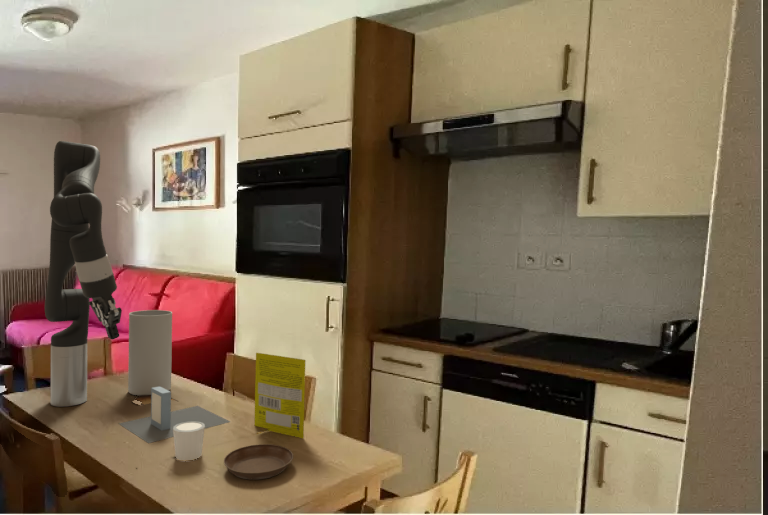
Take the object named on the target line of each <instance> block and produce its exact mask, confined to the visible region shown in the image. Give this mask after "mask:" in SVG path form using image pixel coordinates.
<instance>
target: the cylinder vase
mask: <svg viewBox="0 0 768 515" xmlns="http://www.w3.org/2000/svg"><path fill="white" fill-rule="evenodd" d="M172 341H173V311H170V310H164V309H162V310H161V309H145V310H136V311H131V312H129V313H128V367H127V368H128V371H127V372H128V373H127V375H128V378H127V382H128V383H127V387H128V388H127V390H128V391H127V392H128V393H129V394H130V395H133V396H136V395H137V396H136V397H138V396H141V395H151V388H154V387H159V386H160V387H162V388H164V389H166V390H168V391H170V390H171V388H172V355H173V354H172V348H173V346H172V344H173V343H172Z"/></svg>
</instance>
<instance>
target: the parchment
mask: <svg viewBox="0 0 768 515" xmlns="http://www.w3.org/2000/svg"><path fill="white" fill-rule="evenodd" d="M136 397H137V398H136ZM136 397H135V398H136V399H135V398H134V399H135V400H137V401H140V402H142V403H141V404H144V406H145V405H149V404H150V405H151V395H141V396H139V397H138V396H136ZM171 401H176V402H178V400H177V399H176V398H173V397H171Z"/></svg>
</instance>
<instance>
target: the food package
mask: <svg viewBox="0 0 768 515" xmlns="http://www.w3.org/2000/svg"><path fill="white" fill-rule="evenodd" d="M254 382H255V384H254V387H255V388H254V423H253V424H254V427H259V428H263V429H265V431H268V432H271V431H272V433H276V434H280V433H281V435H285V436H291V437H294V436H295V438H298V437H299V438H298V439H304V431H305V430H304V428H305V396H306V395H305V391H306V390H305V388H306V384H305V383H306V359H302V358H296V357H288V356H281V355H275V354H268V353H261V352H256V353H255V381H254Z"/></svg>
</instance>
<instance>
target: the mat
mask: <svg viewBox="0 0 768 515" xmlns="http://www.w3.org/2000/svg"><path fill="white" fill-rule="evenodd" d="M191 421H195V422H201V423H204V424H205V428H204V430H205V429H209V428H212V427H215V426H221V425H224V424H227V423H231V420H228V419H226V418H223V417H222V416H220V415H217V413H216V414H215V413H214V412H212V411H210V410H207V409H206V408H204V407H201V406H199V405H195V406H191V407H187V408H186V407H185V408H182V409H177V410H173V411H171V425H170V429H166V430H160V429H159V428H157V427H155V426H154V425H152V424H151V415H150V416H145V417H142V418H137V419H133V420H128V421H124V422H118V425H120V426H121V427H123V428H124V429H126V430H127V431H129V432H130V433H132V434H134V435H135V436H137V437H138V438H139V439H141V440H142V441H144V442H146V443H148V444H151V443H156V442H159V441H163V440H166V439H170V438H174V434H173V427H174V426H175V425H177V424H180V423H183V422H191Z"/></svg>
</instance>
